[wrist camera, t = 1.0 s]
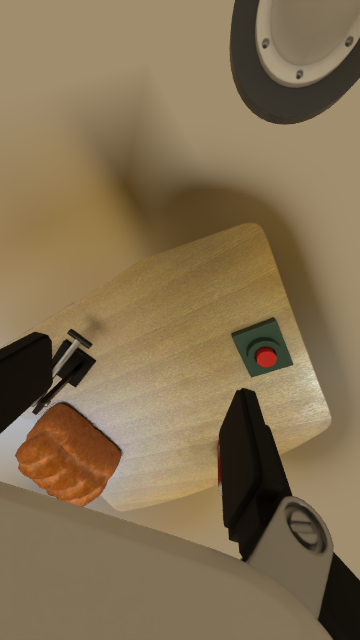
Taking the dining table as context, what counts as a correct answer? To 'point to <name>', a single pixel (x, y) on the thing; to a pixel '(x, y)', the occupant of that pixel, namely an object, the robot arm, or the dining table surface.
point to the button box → (258, 338)
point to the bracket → (67, 372)
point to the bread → (68, 456)
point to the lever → (68, 355)
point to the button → (265, 357)
